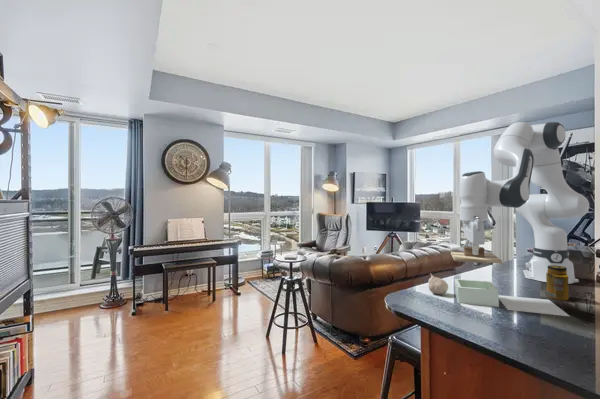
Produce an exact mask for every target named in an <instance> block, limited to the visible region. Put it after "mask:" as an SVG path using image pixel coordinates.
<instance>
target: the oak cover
mask: <svg viewBox="0 0 600 399" xmlns="http://www.w3.org/2000/svg"><path fill="white" fill-rule="evenodd" d="M450 255H451V257H452V258H453V260H454V262H466V263H467V262H468V263H480V264H481V263H483V264H501V265H502V264H503V260H502V259H500V257H498V256H496V255H495V254H494V253H491V252H490V253H488V252H487V253H486V251H485V247H483V246H481V247H480V246H479V250H478V255H473V254H472V247H470V246H463V251H450Z"/></svg>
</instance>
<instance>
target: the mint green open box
mask: <svg viewBox="0 0 600 399" xmlns="http://www.w3.org/2000/svg"><path fill="white" fill-rule="evenodd" d="M454 295H455V298H456V301H457V303H458V305H460V304H465V305H466V304H467V305H477V306H478V305H479V306H487V307H496V308H500V299H499V295H500V294H499V290H498V289H497V287H496V286H495V285H494V284H493V282H491V281H487V280H477V279H476V280H475V279H462V278H454Z"/></svg>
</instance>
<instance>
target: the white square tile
mask: <svg viewBox="0 0 600 399" xmlns="http://www.w3.org/2000/svg"><path fill="white" fill-rule="evenodd" d="M499 302H501V303H502V304H503V306H504V307H505V308H506V310H507V311H515V312H526V313H535V314H536V313H537V314H542V315H543V314H544V315H552V316H553V315H554V316H562V317H570V315H569V314H568V313H567V312H566V311H564V310H563V309H562V308H560V306H557V304H555V303H554V302H553V301H551V300H550V299H546V298H545V299H543V298H534V297H521V296H512V295H501V294H499Z"/></svg>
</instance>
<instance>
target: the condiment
mask: <svg viewBox="0 0 600 399" xmlns="http://www.w3.org/2000/svg"><path fill="white" fill-rule="evenodd" d="M547 268H548V270H547V271H548V272H547V273H546V282H545V283H546V297H547V298H549V299H551V300H556V301H568V300H569V298H570V296H569V290H570V287H569V284H568V275H567V268H566V267H563V266H556V265H549V266H548V267H547Z"/></svg>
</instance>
